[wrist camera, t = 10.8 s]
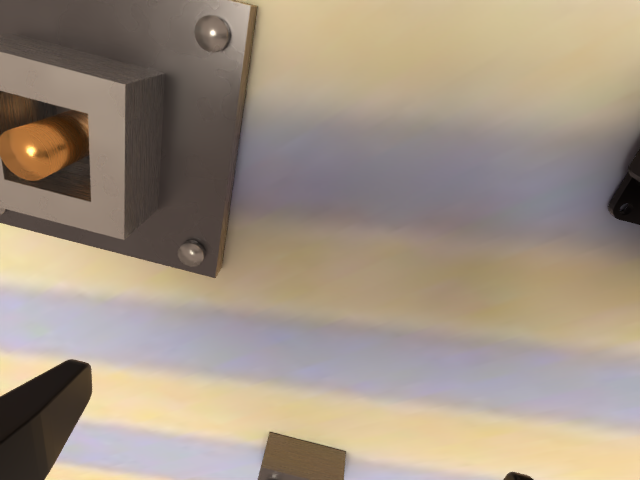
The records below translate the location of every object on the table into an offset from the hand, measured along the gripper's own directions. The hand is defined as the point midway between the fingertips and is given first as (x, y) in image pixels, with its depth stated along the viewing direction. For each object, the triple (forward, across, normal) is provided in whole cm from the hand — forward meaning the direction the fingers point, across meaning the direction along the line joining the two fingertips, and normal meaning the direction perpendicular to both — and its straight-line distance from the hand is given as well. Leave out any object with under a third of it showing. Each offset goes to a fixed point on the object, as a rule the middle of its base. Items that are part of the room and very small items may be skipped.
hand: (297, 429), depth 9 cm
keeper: (+12, +11, -1) cm, 16 cm away
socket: (+11, +11, -1) cm, 16 cm away
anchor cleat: (+12, -2, +18) cm, 22 cm away
